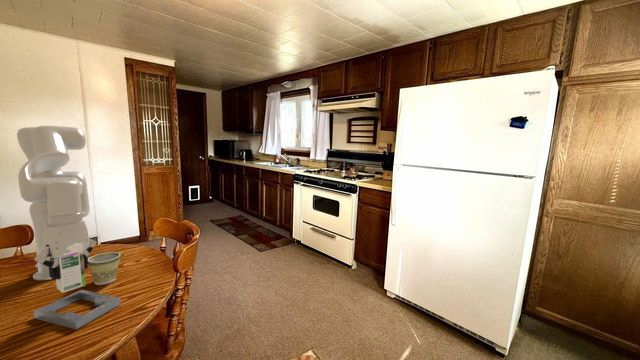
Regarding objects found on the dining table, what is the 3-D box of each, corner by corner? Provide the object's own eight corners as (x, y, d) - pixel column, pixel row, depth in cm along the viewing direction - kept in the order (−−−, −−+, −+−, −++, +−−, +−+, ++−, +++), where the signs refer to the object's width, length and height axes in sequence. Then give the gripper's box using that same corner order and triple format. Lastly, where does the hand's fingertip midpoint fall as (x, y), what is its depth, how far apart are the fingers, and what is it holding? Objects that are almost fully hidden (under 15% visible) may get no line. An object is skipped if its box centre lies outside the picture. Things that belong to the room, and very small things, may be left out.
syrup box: (62, 293, 80) (58, 248, 78) (56, 288, 83) (52, 244, 81) (86, 285, 84) (83, 242, 83) (79, 280, 88) (76, 239, 86)
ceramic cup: (103, 289, 97) (101, 263, 96) (82, 285, 99) (80, 260, 98) (134, 273, 110) (133, 250, 109) (114, 270, 112) (113, 248, 111)
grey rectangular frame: (34, 318, 80) (33, 310, 80) (81, 296, 92) (81, 289, 92) (76, 329, 76) (76, 321, 75) (120, 304, 88) (120, 297, 88)
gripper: (87, 212, 91) (90, 261, 92) (20, 225, 74) (25, 284, 76) (104, 213, 89) (107, 263, 91) (38, 227, 72) (44, 288, 74)
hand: (70, 272), depth 83 cm, fingers closed on syrup box, 6 cm apart
